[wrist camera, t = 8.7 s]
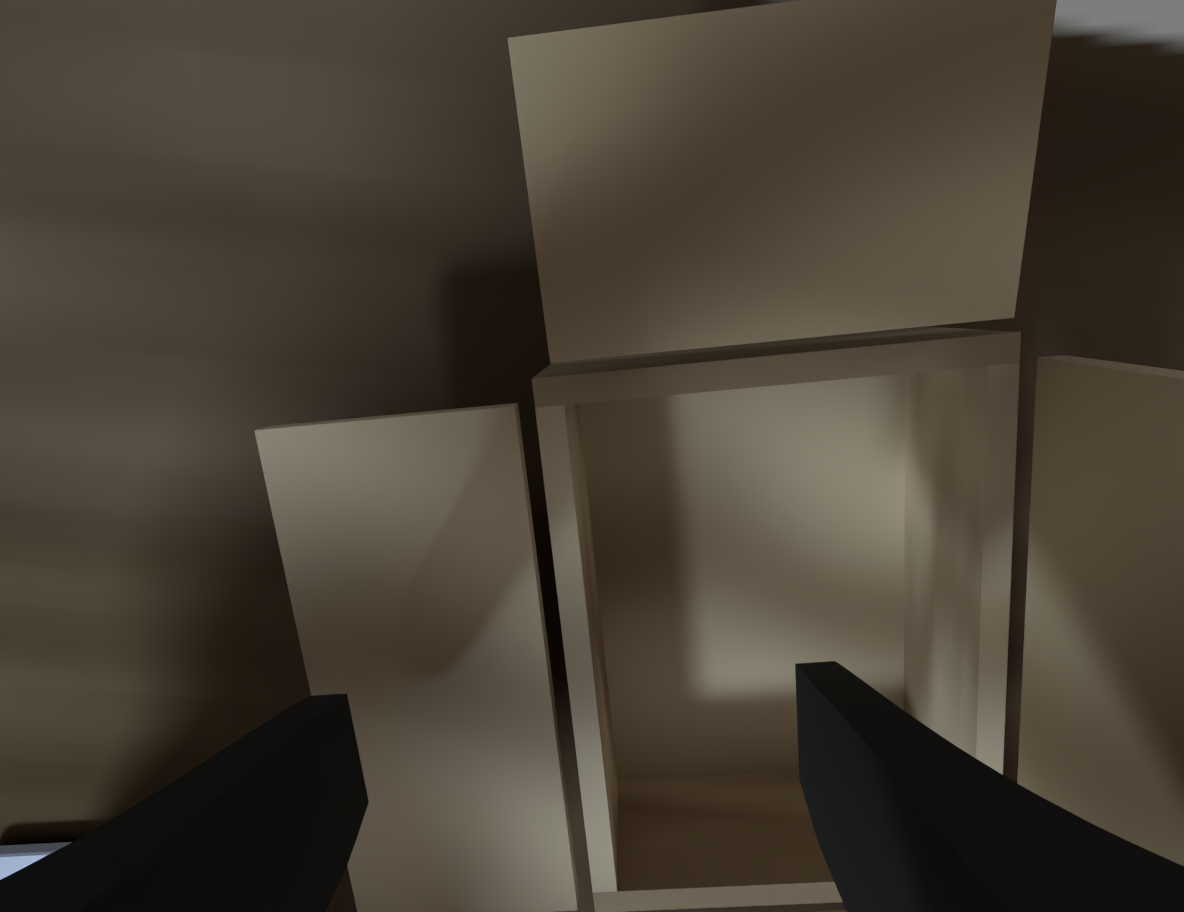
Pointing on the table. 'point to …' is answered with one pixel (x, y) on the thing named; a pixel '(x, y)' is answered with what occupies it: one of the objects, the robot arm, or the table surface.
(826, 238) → the flap
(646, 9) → the table surface
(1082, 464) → the flap
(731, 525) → the carton
